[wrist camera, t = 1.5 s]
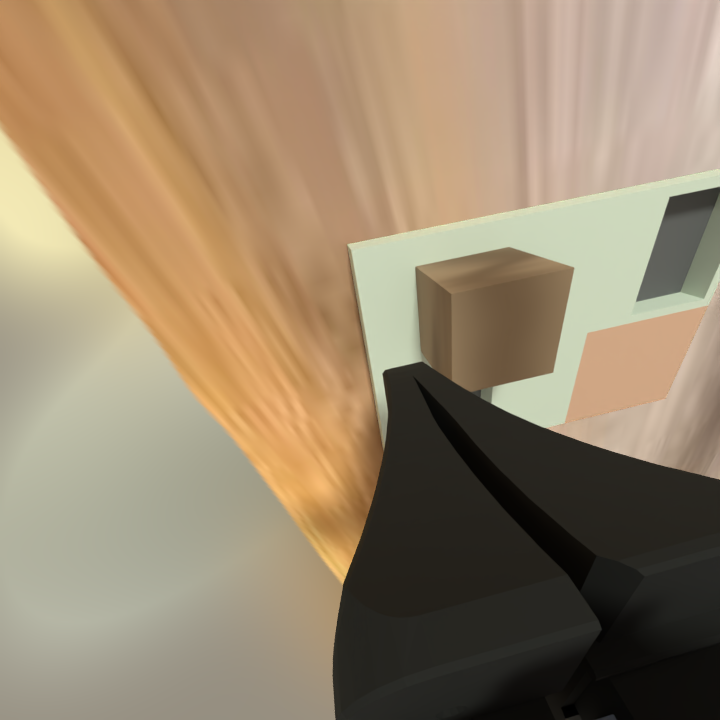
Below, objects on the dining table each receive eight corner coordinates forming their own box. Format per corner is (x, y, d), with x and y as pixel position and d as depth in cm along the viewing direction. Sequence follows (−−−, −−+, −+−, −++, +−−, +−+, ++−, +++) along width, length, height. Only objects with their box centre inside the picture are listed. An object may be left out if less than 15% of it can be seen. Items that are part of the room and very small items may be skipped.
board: (734, 165, 15) (773, 164, 14) (645, 386, 23) (665, 398, 21) (347, 244, 14) (351, 250, 13) (383, 449, 22) (388, 466, 20)
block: (509, 246, 14) (574, 267, 11) (501, 333, 16) (553, 372, 13) (414, 266, 14) (451, 294, 10) (420, 351, 16) (451, 396, 13)
